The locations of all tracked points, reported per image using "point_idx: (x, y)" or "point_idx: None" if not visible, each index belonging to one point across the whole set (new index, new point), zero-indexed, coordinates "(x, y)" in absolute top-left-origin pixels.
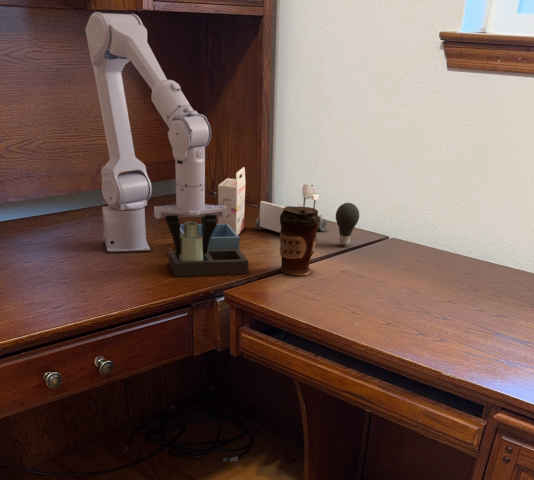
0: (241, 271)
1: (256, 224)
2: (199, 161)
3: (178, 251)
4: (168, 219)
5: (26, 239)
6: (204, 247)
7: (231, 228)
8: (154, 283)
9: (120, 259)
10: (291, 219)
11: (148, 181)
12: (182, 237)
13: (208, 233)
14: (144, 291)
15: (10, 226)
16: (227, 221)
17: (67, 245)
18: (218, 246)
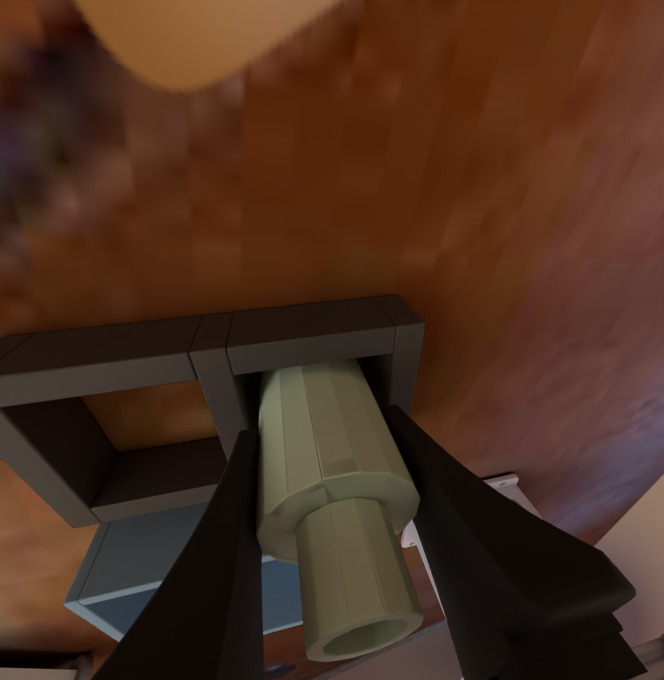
0: (32, 339)
1: (82, 676)
2: None
3: (399, 414)
4: (606, 634)
5: (613, 503)
6: (251, 454)
7: None
8: (512, 206)
9: (506, 437)
10: None
11: None
12: (406, 493)
13: (208, 559)
14: (613, 69)
15: (596, 541)
16: None
17: (567, 492)
18: (185, 533)
